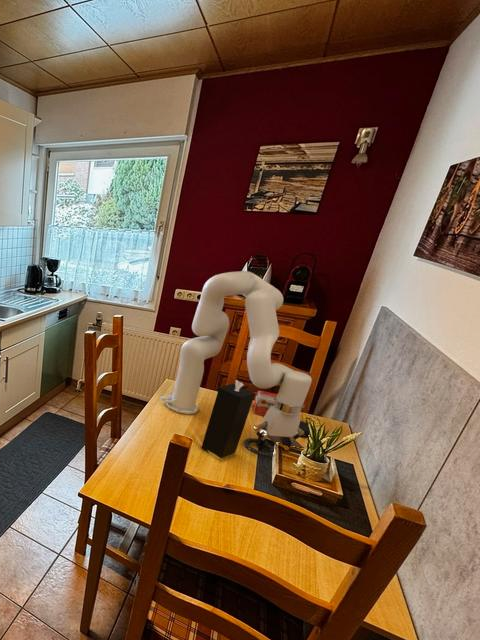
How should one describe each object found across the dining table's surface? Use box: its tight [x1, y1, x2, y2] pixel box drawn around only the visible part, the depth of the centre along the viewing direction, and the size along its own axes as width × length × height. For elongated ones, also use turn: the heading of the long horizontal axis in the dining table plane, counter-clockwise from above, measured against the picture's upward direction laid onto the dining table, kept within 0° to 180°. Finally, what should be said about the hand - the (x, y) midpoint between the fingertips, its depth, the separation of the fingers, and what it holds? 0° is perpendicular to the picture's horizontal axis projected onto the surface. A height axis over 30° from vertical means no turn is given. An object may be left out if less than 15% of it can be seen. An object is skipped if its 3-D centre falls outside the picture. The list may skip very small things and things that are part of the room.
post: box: [263, 433, 305, 449], centre depth 144 cm, size 9×9×12 cm
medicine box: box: [253, 390, 302, 417], centre depth 164 cm, size 15×8×8 cm, turn 61°
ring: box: [242, 437, 275, 458], centre depth 140 cm, size 10×10×2 cm
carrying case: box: [299, 420, 309, 438], centre depth 155 cm, size 11×3×15 cm
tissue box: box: [201, 379, 256, 459], centre depth 133 cm, size 8×8×28 cm
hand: (271, 448), depth 140 cm, fingers open, 8 cm apart
